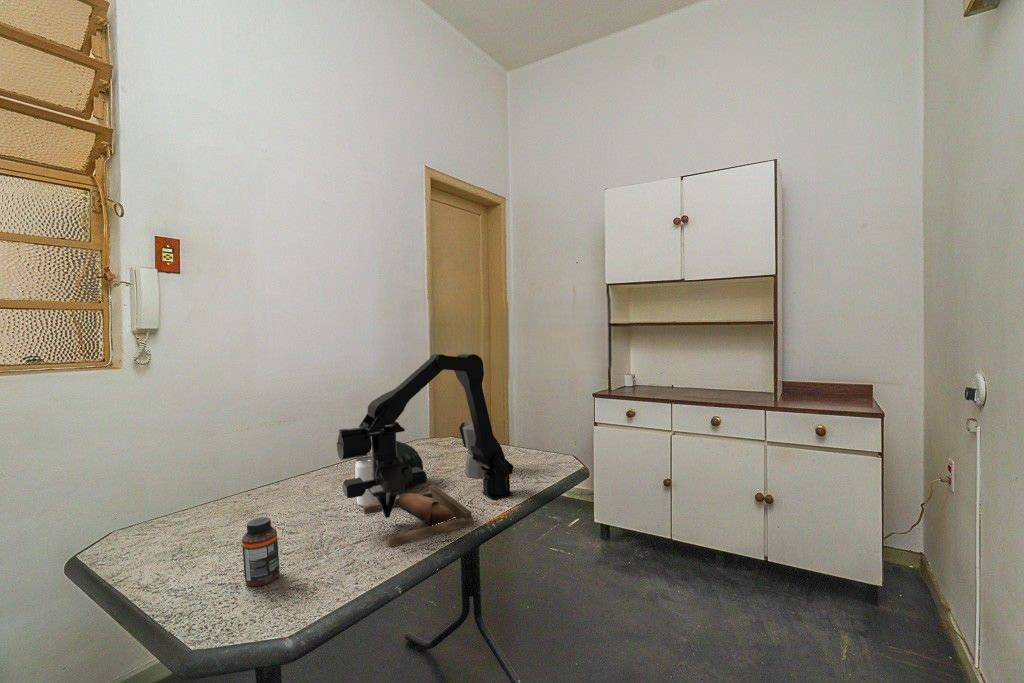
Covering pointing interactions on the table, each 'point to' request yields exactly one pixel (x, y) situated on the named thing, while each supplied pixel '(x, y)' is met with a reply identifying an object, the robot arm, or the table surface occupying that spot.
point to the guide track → (448, 502)
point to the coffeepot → (470, 451)
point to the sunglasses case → (425, 508)
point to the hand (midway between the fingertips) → (387, 517)
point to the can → (365, 479)
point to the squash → (408, 458)
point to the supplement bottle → (260, 552)
